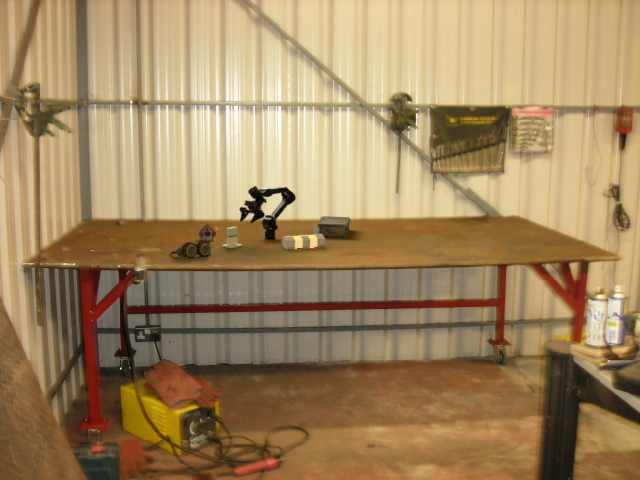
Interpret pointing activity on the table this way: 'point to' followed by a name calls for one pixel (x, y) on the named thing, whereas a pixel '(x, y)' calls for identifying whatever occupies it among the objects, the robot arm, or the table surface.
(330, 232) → the metal box
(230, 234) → the pale green block
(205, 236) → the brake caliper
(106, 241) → the table surface
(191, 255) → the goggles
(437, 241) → the table surface
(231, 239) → the cream stepped block
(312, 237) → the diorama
